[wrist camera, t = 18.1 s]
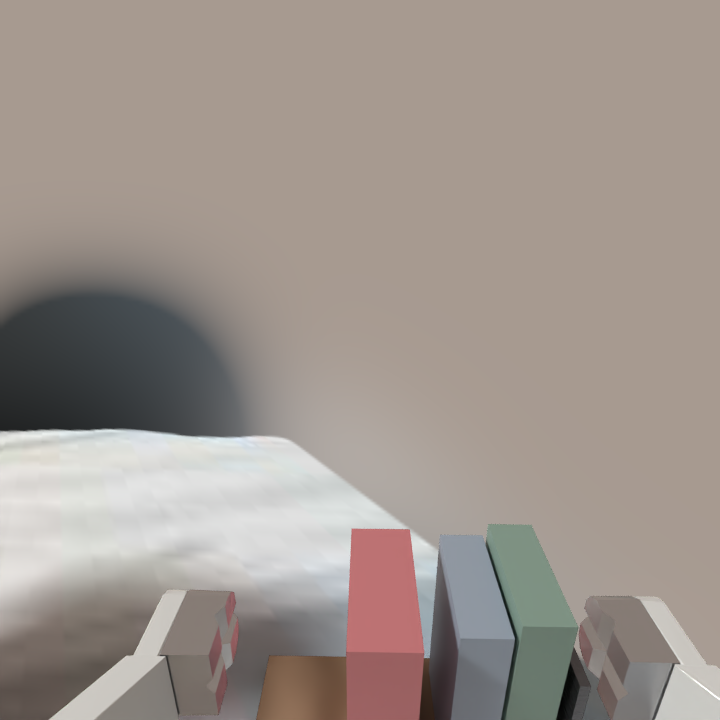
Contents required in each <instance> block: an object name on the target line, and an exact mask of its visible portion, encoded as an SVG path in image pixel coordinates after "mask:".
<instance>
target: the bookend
mask: <svg viewBox="0 0 720 720" xmlns="http://www.w3.org/2000/svg"><path fill="white" fill-rule="evenodd" d="M590 689H591V685H590V683H589V681H588V678H587V676H586V674H585V671H584V669H583V667H582V664H581V662H580V660H579V658H578V655H577V653H576V651H575V648H574V647H573V652H572V656H571V660H570V664H569V668H568V672H567V676H566V680H565V684H564V689H563V693H562V697H561V701H560V705H559V709H558V713H557V717H556V720H582V718H583V714H584V710H585V707H586V703H587V700H588V696H589V692H590Z"/></svg>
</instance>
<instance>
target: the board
mask: <svg viewBox="0 0 720 720" xmlns="http://www.w3.org/2000/svg"><path fill="white" fill-rule="evenodd" d="M429 661H430V658H424V663H423V676H422V689H421V702H420V715H419V720H435V717H434V709H433V701H432V692H431V684H430V676H429ZM256 720H347V666H346V657H327V656H271V655H269V660H268V665H267V669H266V674H265V679H264V684H263V689H262V694H261V699H260V704H259V709H258V713H257V718H256Z"/></svg>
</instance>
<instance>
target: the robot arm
mask: <svg viewBox="0 0 720 720" xmlns="http://www.w3.org/2000/svg"><path fill="white" fill-rule="evenodd" d="M235 604H236V601H235V595H234V592H229V591H205V590H172V589H168V590H167V591H166V592H165V593H164V595H163V596H162V598H161V600H160V602H159V604H158V606H157V608H156V610H155V612H154V614H153V616H152V618H151V620H150V622H149V624H148V626H147V628H146V630H145V632H144V634H143V637H142V639H141V641H140V643H139V645H138V647H137V649H136V651H135V653H134V655H131V656H125V657H124V658H123V659H122V660H121V661H119V662H118V663H117V664H116V665H115V666H113V667H112V668H111V669H110V670H108V671H107V672H106V673H105V674H104V675H102V676H101V677H100V678H99V679H98V680H96V681H95V682H94V683H93V684H91V685H90V686H89V687H88V688H87V689H85V690H84V691H83V692H82V693H81V694H79V695H78V696H77V697H76V698H75V699H73V700H72V701H71V702H70V703H68V704H67V705H66V706H65V707H64V708H62V709H61V710H60V711H59V712H58V713H56V714H55V715H54V716H53V717H52V718H50V719H49V720H178V719H179V717H178V716H190V715H219V712H220V708H221V704H222V701H223V697H224V694H225V690H226V687H227V677H226V670H227V669H228V668H229V667H230V666H231V665H232V664H233V661H234V657H235V653H236V649H237V642H238V627H239V625H238V617H237V616H236V615H235V614H234V613H233V611H234V607H235ZM584 609H585V610H586V613H587V615H588V617H587V618H586V619H584V620H583V621H582V622H581V625H580V630H579V642H580V649H581V652H582V656H583V659H584V661H585V664H586V666H587V668H588V670H589V671H591V672H592V673H593V674H594V675H595V676H596V677H597V678H598V679H600V680H599V684H598V688H597V691H598V693H599V695H600V697H601V700H602V702H603V704H604V706H605V709H606V711H607V713H608V715H609V717H610V720H720V669H719V668H718V667H717V666H715V665H707V663H706V662H705V660H704V659H703V657H702V656H701V654H700V653H699V652H698V650H697V649H696V647H695V646H694V644H693V643H692V642H691V640H690V639H689V638H688V636H687V634H686V633H685V632H684V630H683V629H682V627H681V626H680V625H679V623H678V622H677V620H676V619H675V617H674V616H673V614H672V613H671V612H670V610H669V609H668V607H667V606H666V604H665V603H664V602H663V600H661V599H660V598H659V597H636V596H635V597H632V596H590V597H589V598H588V599H587V600H586V604H585V608H584Z"/></svg>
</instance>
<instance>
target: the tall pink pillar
mask: <svg viewBox="0 0 720 720" xmlns="http://www.w3.org/2000/svg"><path fill="white" fill-rule="evenodd" d="M423 663H424V647H423V638H422V630H421V621H420V613H419V604H418V596H417V587H416V579H415V570H414V561H413V553H412V544H411V536H410V530H408V529H352V535H351V558H350V581H349V603H348V626H347V648H346V666H347V720H419V715H420V702H421V689H422V676H423Z"/></svg>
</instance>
